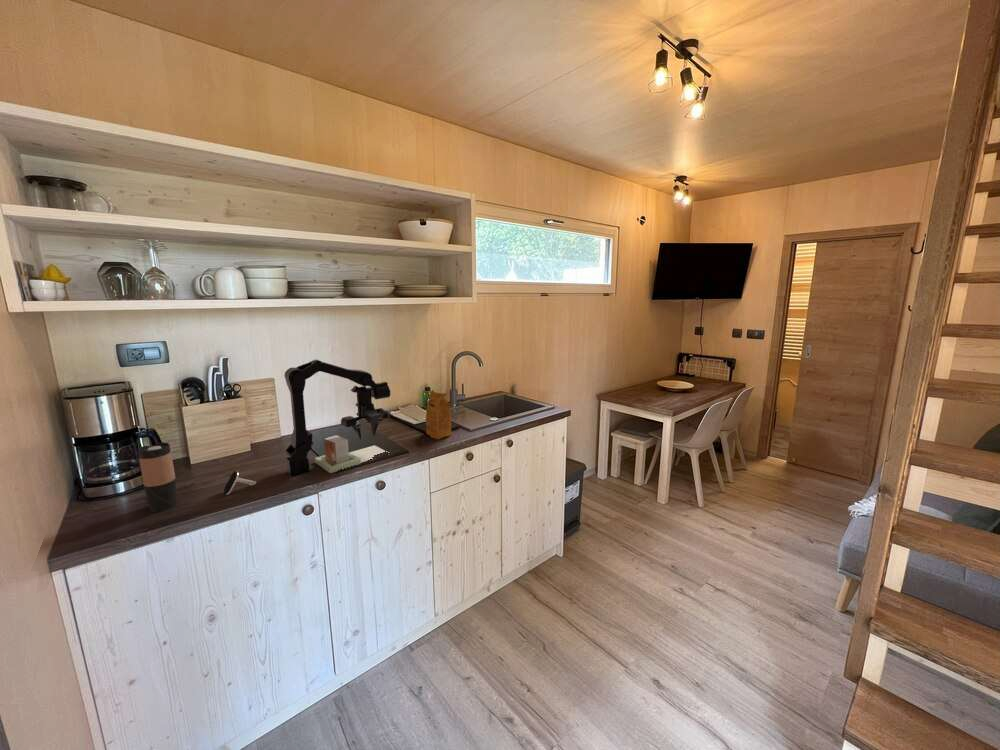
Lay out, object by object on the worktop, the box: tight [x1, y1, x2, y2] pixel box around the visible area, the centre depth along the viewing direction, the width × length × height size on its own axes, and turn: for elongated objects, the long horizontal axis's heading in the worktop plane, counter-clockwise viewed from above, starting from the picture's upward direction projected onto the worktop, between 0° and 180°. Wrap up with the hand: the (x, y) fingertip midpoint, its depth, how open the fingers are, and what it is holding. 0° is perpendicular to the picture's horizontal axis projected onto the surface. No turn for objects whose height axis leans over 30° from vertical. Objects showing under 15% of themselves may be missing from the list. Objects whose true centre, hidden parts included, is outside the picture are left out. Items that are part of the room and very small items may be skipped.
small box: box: [323, 434, 350, 465], centre depth 158 cm, size 8×6×10 cm
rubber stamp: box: [223, 471, 257, 496], centre depth 137 cm, size 8×5×8 cm
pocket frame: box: [314, 453, 362, 474], centre depth 159 cm, size 12×14×2 cm
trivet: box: [349, 445, 390, 463], centre depth 168 cm, size 13×13×1 cm
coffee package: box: [425, 388, 452, 440], centre depth 190 cm, size 10×12×22 cm
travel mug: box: [137, 442, 179, 513], centre depth 125 cm, size 8×8×20 cm
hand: (366, 437), depth 167 cm, fingers open, 6 cm apart
